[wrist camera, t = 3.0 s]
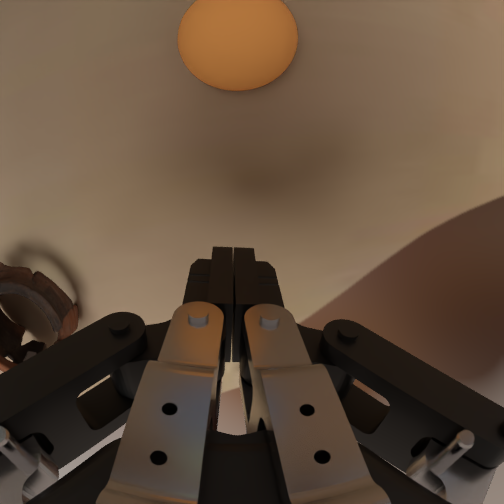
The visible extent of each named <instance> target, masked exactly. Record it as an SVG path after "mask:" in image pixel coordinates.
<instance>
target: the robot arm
mask: <svg viewBox="0 0 504 504" xmlns="http://www.w3.org/2000/svg"><path fill="white" fill-rule="evenodd" d="M231 339H232V362H240V375H239V385H240V392H241V398H242V405H243V412H244V418H245V425H246V434H245V435H238V436H237V435H230V434H226V433H222V432H218V431H217V426H218V416H219V406H220V397H221V387H222V377H223V375H224V371H225V362H230V359H231ZM109 374H110V377H109V378H108V379H106V380H105V381H103V382H102V383H100V384H99V385H97V386H96V387H94V388H92V389H91V390H89V391H88V392H86V393H85V394H83V395H82V396H80V397H78V396H79V394H80V393H81V392H83V391H84V390H86V389H87V388H89V387H90V386H92V385H94V384H95V383H97V382H98V381H100V380H101V379H103V378H105V377H106V376H108V375H109ZM355 379H357V380H359V381H360V382H362V383H363V384H365V385H366V386H368V387H369V388H371V389H372V390H374V391H375V392H377V393H378V394H380V395H381V396H383V397H384V398H386V399H387V401H388V402H389V404H390V406H386V405H384V404H382V403H381V402H379V401H378V400H376V399H375V398H373V397H372V396H370V395H368V394H367V393H365V392H364V391H362V390H361V389H360V388H358V387H356V386H355V385H354V384H353V382H354V380H355ZM77 397H78V398H77ZM125 423H126V426H125V429H124V432H123V435H122V438H119V439H117V440H114V441H112V442H111V443H109V444H107V445H105V446H104V447H103V448H101V449H100V450H99V451H97V452H96V453H95V454H93V455H92V456H91V457H89V458H88V459H87V460H85V461H84V462H83V463H81V464H80V465H79V466H77V467H76V468H75V469H73V470H72V471H71V472H69V473H68V474H67V475H65V476H64V477H63V478H61V479H59V471H58V470H59V469H61V468H62V467H64V466H65V465H67V464H68V463H69V462H71V461H72V460H74V459H76V458H77V457H78V456H80V455H81V454H83V453H84V452H86V451H87V450H89V449H90V448H91V447H93V446H94V445H96V444H97V443H99V442H100V441H102V440H103V439H104V438H106V437H107V436H108V435H110V434H111V433H113V432H114V431H116V430H117V429H118V428H120V427H121V426H122V425H124V424H125ZM357 441H358V442H359V443H358V442H357ZM360 443H361V444H360ZM379 456H380V457H379ZM382 458H383V459H382ZM385 460H386V461H385ZM387 461H388V462H389V463H391V464H392V465H394V466H396V467H397V468H399V469H400V470H402V471H404V472H405V473H406V475H405V474H404V473H403V472H401V471H400V470H398V469H397V468H395V467H394V466H392V465H391V464H389V463H388V462H387ZM502 462H504V408H503V407H502V406H500V405H498V404H496V403H494V402H493V401H491V400H489V399H488V398H486V397H484V396H482V395H480V394H479V393H477V392H475V391H474V390H472V389H470V388H468V387H467V386H465V385H463V384H461V383H460V382H458V381H456V380H455V379H453V378H451V377H449V376H448V375H446V374H444V373H442V372H440V371H439V370H437V369H435V368H434V367H432V366H430V365H429V364H427V363H425V362H423V361H422V360H420V359H418V358H417V357H415V356H413V355H411V354H410V353H408V352H406V351H405V350H403V349H401V348H399V347H398V346H396V345H394V344H393V343H391V342H389V341H387V340H386V339H384V338H382V337H380V336H379V335H377V334H376V333H374V332H372V331H370V330H369V329H367V328H365V327H364V326H362V325H360V324H358V323H356V322H354V321H350V320H343V319H340V320H333V321H331V322H329V323H328V324H326V326H325V327H324V330H323V331H321V330H316V329H312V328H307V327H304V326H301V325H299V324H297V323H296V322H295V319H294V317H293V315H292V314H291V313H290V312H289V311H288V310H287V309H285V308H284V304H283V300H282V296H281V292H280V288H279V285H278V280H277V276H276V272H275V269H274V268H273V267H272V266H271V265H270V264H269V263H268V262H264V261H256V260H255V254H254V248H238V247H234V254H233V250H232V247H213V251H212V259H198V260H196V261H195V262H194V263H193V264H192V265H191V268H190V272H189V276H188V282H187V285H186V290H185V295H184V299H183V304H182V305H181V306H180V307H178V308H177V309H176V310H175V312H174V314H173V317H172V319H171V320H169V321H166V322H163V323H159V324H152V325H145V323H144V321H143V319H142V318H141V317H140V316H138V315H136V314H134V313H130V312H117V313H112V314H110V315H107V316H105V317H103V318H102V319H100V320H98V321H96V322H94V323H92V324H91V325H89V326H87V327H85V328H83V329H81V330H80V331H78V332H76V333H74V334H72V335H70V336H69V337H67V338H65V339H63V340H61V341H59V342H58V343H56V344H54V345H52V346H50V347H49V348H47V349H45V350H43V351H41V352H40V353H38V354H36V355H34V356H32V357H30V358H29V359H27V360H25V361H23V362H22V363H20V364H18V365H16V366H14V367H13V368H11V369H9V370H7V371H5V372H4V373H2V374H0V504H482V503H483V501H484V499H485V496H486V494H487V491H488V489H489V486H490V484H491V481H492V479H493V476H494V473H495V470H496V468H497V467H498V466H499V465H500V464H501V463H502ZM58 479H59V480H58Z"/></svg>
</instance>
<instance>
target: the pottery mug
mask: <svg viewBox="0 0 504 504" xmlns="http://www.w3.org/2000/svg"><path fill="white" fill-rule="evenodd" d="M7 293H12V294H18V295H21V296H24V297H26V298H28V299H30V300H31V301H33V302H34V303H35V304H37V305H38V306H39V307H40V308H41V309H42V310H43V311H44V313H45V314H46V316H47V317H48V319H49V320H50V323H51V325H52V327H53V330H54V332H55V333H56V332H58V340H57V341H56V342H55V343H54V344H56V343H58V342H59V341H61V340H63V339H65V338H67V337H69V336H70V335H71V334H72V333H73V332H74V331H75V330H76V329H77V327H78V308H77V306H76V305H73V303H72V300H71V299H70V298H69V297H68V296H67V295H66V294H65V293H64V292H63V291H62V290H61V289H60V288H59V287H58V286H57V285H56V284H55V283H54V282H53V281H52V280H51V279H49V278H48V277H46V276H45V275H44V274H43V273H41V272H39V271H37V272H35V273H34V274H33V273H32V272H31V270H30V269H29V268H26V267H11V266H7V265H4V264H3V263H1V262H0V295H2V294H7ZM24 332H25V328H24V327H22V326H20V325H17V324H16V323H14V322H12V321H11V320H10V319H9V318H8V317H7V316H6V315H5V314H4V313H3V311H2V310H1V308H0V370H1V371H3V372H5V371H7V370H9V369H11V368H13V367H14V366H16V365H18V364H20V363H22V362H23V361H25V360H27V359H29V358H30V357H32V356H34V355H36V354H38V353H40V352H41V351H43V350H45V349H46V344H45V343H43V342H37V341H35V340H32V341H30V342H29V343H26V344H25V345H22V346H21V342H22V339H23V338H22V337H23V335H24ZM7 356H8V357H9V358H10V359H11V360H13V362H11V361H9V360H7V359H6V358H5V357H7Z"/></svg>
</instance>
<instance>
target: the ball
mask: <svg viewBox="0 0 504 504" xmlns="http://www.w3.org/2000/svg"><path fill="white" fill-rule="evenodd" d="M297 43H298V31H297V26H296V22H295V20H294V18H293V15H292V14H291V12H290V11H289V9H288V8H287V6H286V5H285V4H284V3H283V2H282V1H281V0H196V1H195V2H194V3H193V4H192V5H191V6H190V7H189V9H188V10H187V11H186V13H185V14H184V16H183V18H182V20H181V23H180V26H179V31H178V49H179V52H180V55H181V57H182V60H183V62H184V64H185V65H186V67H187V68H188V69H189V70H190V72H191V73H192V74H193V75H194V76H196V77H197V78H198V79H199V80H201V81H202V82H204V83H206V84H208V85H210V86H213V87H216V88H219V89H223V90H230V91H244V90H251V89H255V88H258V87H261V86H264V85H266V84H268V83H270V82H271V81H273V80H274V79H276V78H277V77H278V76H280V75H281V74H282V73H283V72H284V71H285V70H286V68H287V67H288V66H289V64H290V63H291V61H292V59H293V57H294V55H295V52H296V49H297Z"/></svg>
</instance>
